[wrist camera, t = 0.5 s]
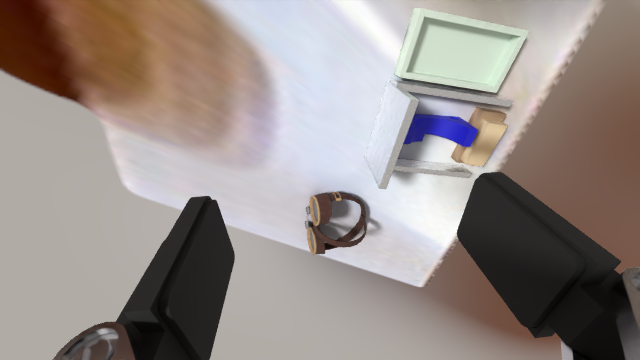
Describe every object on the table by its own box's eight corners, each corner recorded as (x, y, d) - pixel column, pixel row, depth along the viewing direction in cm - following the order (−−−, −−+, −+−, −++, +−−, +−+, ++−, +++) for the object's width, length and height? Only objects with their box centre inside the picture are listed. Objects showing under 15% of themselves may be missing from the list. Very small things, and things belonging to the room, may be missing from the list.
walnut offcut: (474, 106, 44) (483, 110, 42) (496, 109, 45) (506, 114, 43) (449, 155, 50) (456, 162, 47) (469, 158, 50) (477, 164, 48)
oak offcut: (482, 118, 43) (489, 123, 41) (499, 121, 43) (508, 125, 42) (460, 159, 47) (466, 164, 46) (476, 161, 48) (483, 166, 46)
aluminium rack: (387, 77, 40) (412, 95, 31) (500, 95, 43) (550, 115, 35) (363, 159, 48) (377, 191, 40) (460, 169, 51) (492, 200, 43)
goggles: (305, 186, 50) (321, 220, 42) (364, 180, 54) (387, 210, 46) (301, 240, 59) (314, 276, 51) (352, 231, 62) (371, 263, 55)
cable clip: (387, 136, 46) (398, 151, 41) (393, 112, 43) (406, 125, 38) (448, 139, 47) (466, 154, 42) (458, 116, 45) (478, 129, 40)
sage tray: (413, 8, 35) (421, 8, 33) (516, 29, 37) (529, 30, 35) (393, 73, 39) (399, 77, 37) (486, 88, 42) (496, 92, 40)
